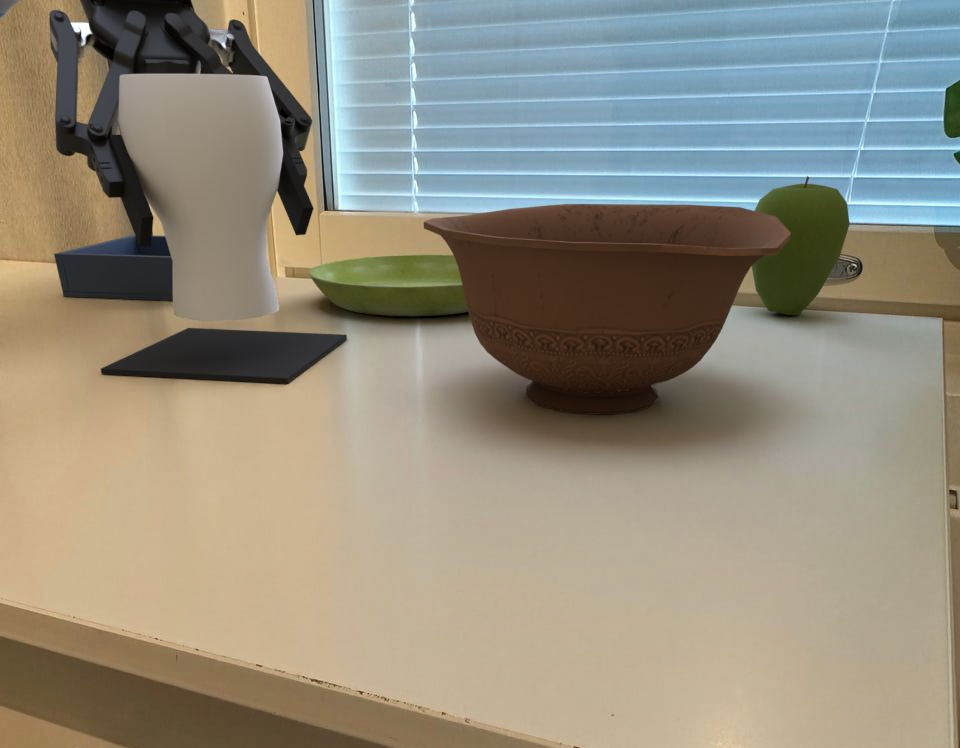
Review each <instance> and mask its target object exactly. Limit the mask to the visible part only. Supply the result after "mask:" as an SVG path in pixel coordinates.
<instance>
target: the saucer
mask: <svg viewBox="0 0 960 748" xmlns="http://www.w3.org/2000/svg"><path fill="white" fill-rule="evenodd" d="M308 275H309V276H310V278H311V280H312V281H313V283H314V285H315V286H316V287H317V288H318V289H319V291H320V292H321V293H322V294H323V295H324V296H325V297H326V298H327V299H328V300H329V301H330V302H332V303H333V304H334V305H335V306H337V307H338V308H341V309H343V310H346V311H350V312H354V313H358V314H366V315H373V316H385V317H433V316H434V317H435V316H436V317H437V316H447V315H457V314H464V313H465V314H466V313H469V312H468V308H467V303H466V299H465V294H464V289H463V285H462V280H461V276H460V272H459V268H458V265H457V262H456V260H455V257H454V255H453V254H397V255H395V254H393V255H380V256H379V255H377V256H368V257H358V258H350V259H342V260H337V261H331V262H326V263H322V264H320V265H316V266H314V267H312V268H311V269H310V270H309V271H308Z"/></svg>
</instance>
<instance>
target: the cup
mask: <svg viewBox="0 0 960 748" xmlns="http://www.w3.org/2000/svg"><path fill="white" fill-rule="evenodd" d="M118 121H119V131H120V135H121V136H122V139H123V141H124V144H125V146H126V149H127V152H128V154H129V156H130V159H131V161H132V164H133V167H134V169H135V172H136V174H137V177H138V179H139V182H140V184H141V187H142V189H143V192H144V194H145V197H146V199H147V202H148V204H149V207H150V208H151V209H152V211H153V212H154V213H155V215H156V217H157V218H158V220H159V221H160V223H161V228H162V231H163V234H164V236H165V237H166V241H167V244H168V247H169V251H170V254H171V258H172V261H173V301H172V307H173V308H172V309H173V314H174V316H176V317H178V318H180V319H185V320H190V321H191V320H192V321H203V322H204V321H205V322H224V321H225V322H226V321H228V322H229V321H239V320H240V321H241V320H248V319H249V320H250V319H251V320H252V319H256V318H262V317H265V316H266V317H267V316H270V315H272V314H273V315H274V314H275V313H277V312H279V311H280V305H279V299H278V295H277V291H276V290H277V289H276V287H275V283H274V280H273V275H272V272H271V268H270V265H269V261H268V254H267V253H268V220H269V215H270V213H271V210H272V207H273V204H274V201H275V198H276V194H277V193H278V192H277V189H278V185H279V178H280V171H281V164H282V158H283V147H282V136H281V125H280V118H279V115H278V112H277V108H276V105H275V102H274V98H273V95H272V92H271V88H270V85H269V81H268V78H267V77H266V76H255V75H228V74H200V73H198V74H125V75H120V81H119V117H118Z"/></svg>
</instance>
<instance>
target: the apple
mask: <svg viewBox="0 0 960 748" xmlns="http://www.w3.org/2000/svg"><path fill="white" fill-rule="evenodd" d="M809 179H810V176H809V175H807V176H806V178H805V182H804V183H796V184H791V185H786V186H785V185H784V186H780V187H776V188H773V189H771V190H770V191H769V192H768V193H766V194H765V195H764V196H762V197H761V198H760V199H759V200H758V201H757V204H756V206H755V208H754V211H757V212H761V213H765V214H769V215H773V216H776V217H777V218H778V219H779V220H780V221H781V222H782V224H783V225H784V226H785V227H786V228H787V229H788V230H789V232H790V233H791V236H790V240H789V241H788V242H787V243H786V244H785V246H784V247H783V248H782V249H781V250H780V251H779V252H778V253H777V254H776V255H766V256H764V257H762V258H760V259H759V260H758V261H756V262H755V263H754V264H753V265H752V266H751V269H752V271H751V272H752V276H753V281H754V288H755V291H756V293H757V294H758V296H759V298H760V300H761V301H762V303H763V304H764V306H765V308H766V309H767V310H768V311H769V312H773V313H779V314H783V315H787V316H797V315H801V314H802V313H803V312H804V310H805V309H806V308H808V306H809V305H810V304H811V303H812V302H813V301H814V300H815V298H816V297H817V296H818V295H819V294H820V292H821V290H822V289H823V287H824V285H825V283H826V282H827V280H828V278H829V276H830V275H831V273H832V271H833V269H834V268H835V266H836V264H837V263H838V261H839V259H840V257H841V253H842V250H843V247H844V244H845V241H846V237H847V235H848V231H849V227H850V225H851V224H850V223H851V222H850V217H849V215H850V214H849V207H848V202H847V201H846V199H845V198H844V196H843V195H842V194H841V192H840V191H839V189H837V188H834V187H830V186H826V185H821V184H814V183H808V182H809V181H810V180H809Z"/></svg>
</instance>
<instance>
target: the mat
mask: <svg viewBox="0 0 960 748" xmlns="http://www.w3.org/2000/svg"><path fill="white" fill-rule="evenodd" d="M347 340H348V335H347V334H342V333H341V334H339V333H338V334H337V333H315V332H292V331H290V332H289V331H269V330H246V329H224V328H202V327H201V328H200V327H199V328H197V327H186V328H185V329H183V330H181V331H179V332H177V333H175V334H171V335H170V336H168V337H166V338H163V339H161V340H159V341H157V342H155V343H153V344H151V345H148V346H147V347H144V348H142V349H140V350H138V351H136V352H135V351H134V353H131V354H129V355H127V356H125V357H123V358H120V359H119V360H116V361H114V362H111V363H110V364H107V365H105V366H103V367H101V368H100V374H101V375H109V376H111V375H112V376H128V377H129V376H131V377H149V378H150V377H152V378H167V379H169V378H170V379H189V380H206V381H207V380H209V381H225V382H226V381H227V382H228V381H229V382H244V383H245V382H246V383H247V382H248V383H268V384H286V385H287V384H290V382H291V381H293V380H295V379H296V378H297V377H298V376H300V375H301V374H303V373H304V372H306V370H308V369H310V368H311V367H312V366H313V365H314V364H316V363H317V362H319V361H321V359H323V358H324V357H325V356H327V355H328V354H330V353H331V352H333V350H335V349H337V348H338V347H339V346H340V345H342V344H343V343H345V342H346V341H347Z"/></svg>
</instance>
